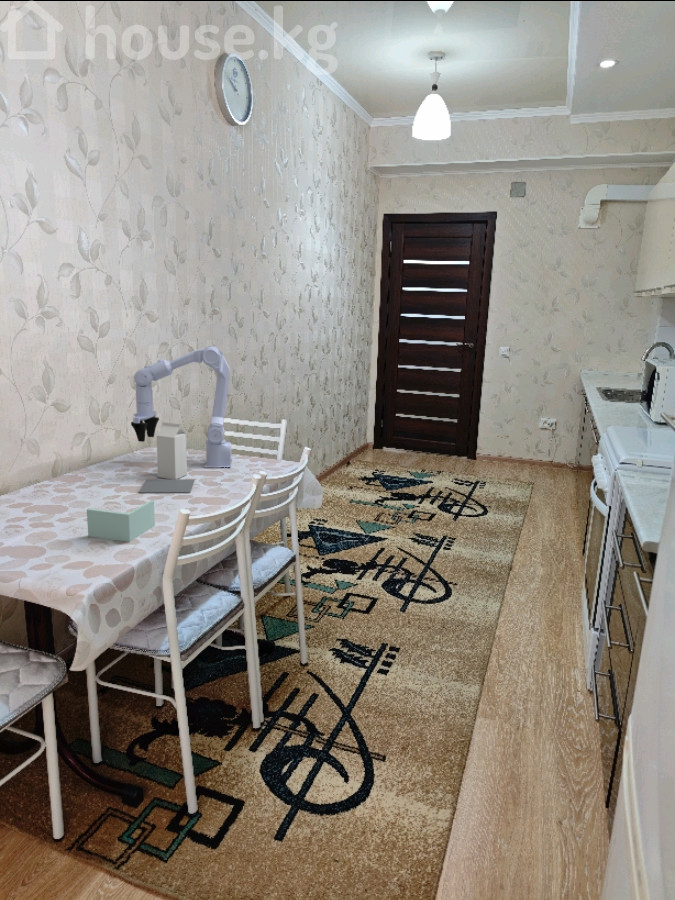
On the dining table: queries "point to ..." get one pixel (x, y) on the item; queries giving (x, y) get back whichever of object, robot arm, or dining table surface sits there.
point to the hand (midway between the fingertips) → (146, 439)
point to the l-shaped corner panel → (121, 523)
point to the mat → (167, 486)
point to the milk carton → (171, 451)
